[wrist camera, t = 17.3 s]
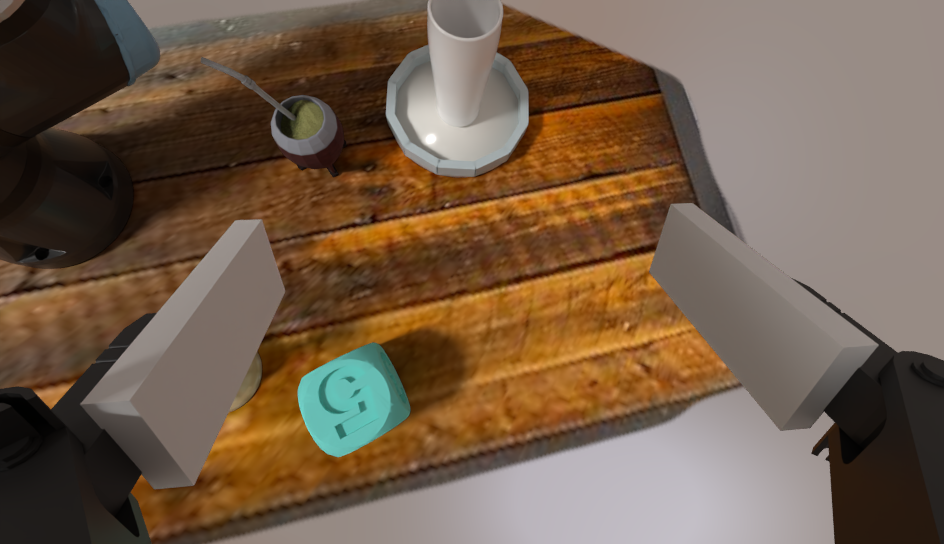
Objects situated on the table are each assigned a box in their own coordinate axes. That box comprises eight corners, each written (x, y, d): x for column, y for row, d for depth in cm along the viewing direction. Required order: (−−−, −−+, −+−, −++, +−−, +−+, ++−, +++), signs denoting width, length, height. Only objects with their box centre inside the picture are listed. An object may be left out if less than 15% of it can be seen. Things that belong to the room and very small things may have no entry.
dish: (362, 131, 48) (358, 119, 46) (436, 32, 52) (436, 16, 49) (480, 202, 48) (482, 195, 46) (547, 98, 51) (553, 85, 49)
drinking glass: (450, 75, 50) (455, -39, 35) (495, 104, 49) (519, 2, 35) (419, 114, 48) (410, 12, 34) (465, 145, 48) (476, 55, 33)
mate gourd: (363, 164, 48) (329, 84, 33) (305, 197, 46) (242, 128, 32) (331, 116, 49) (284, 16, 34) (273, 147, 47) (197, 57, 33)
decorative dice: (345, 445, 42) (324, 468, 34) (314, 376, 43) (286, 383, 35) (413, 407, 43) (408, 421, 35) (382, 341, 44) (369, 341, 36)
